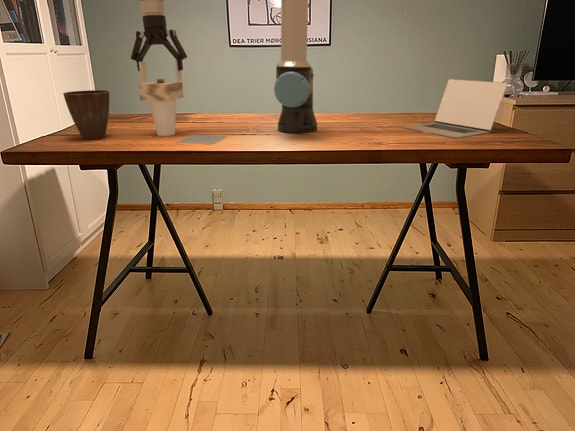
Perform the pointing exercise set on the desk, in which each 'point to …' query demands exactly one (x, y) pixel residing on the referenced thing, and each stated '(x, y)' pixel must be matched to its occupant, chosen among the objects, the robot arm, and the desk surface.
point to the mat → (202, 139)
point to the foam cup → (164, 116)
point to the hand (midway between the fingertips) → (161, 80)
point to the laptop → (465, 109)
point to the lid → (160, 91)
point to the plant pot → (89, 112)
